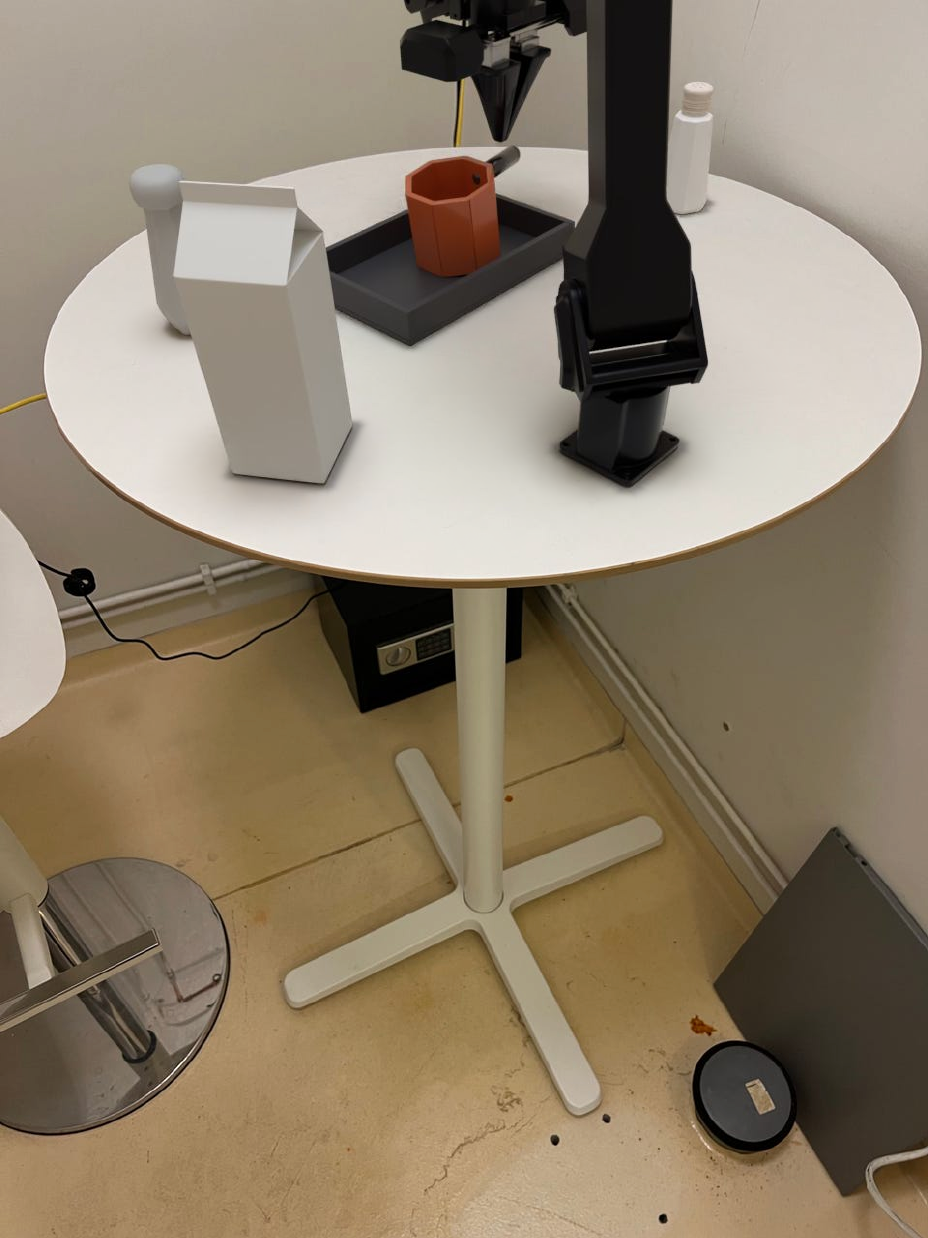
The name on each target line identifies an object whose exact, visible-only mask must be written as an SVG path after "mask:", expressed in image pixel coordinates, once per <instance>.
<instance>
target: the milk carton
mask: <svg viewBox="0 0 928 1238" xmlns="http://www.w3.org/2000/svg"><path fill="white" fill-rule="evenodd" d="M179 187H180V191H181V194H182V198H183V202H182V203H183V206H182V213H181V221H180V228H179V236H178V243H177V251H176V258H175V266H174V274H173V277H174V279H175V282H176V286H177V289H178V292H179V296H180V299H181V302H182V306H183V309H184V313H185V316H186V319H187V323H188V326H189V329H190V333H191V335H190V336H191V340H192V342H193V346H194V349H195V352H196V355H197V359H198V362H199V366H200V370H201V373H202V377H203V379H204V380H203V381H204V383H205V386H206V391H207V393H208V396H209V399H210V403H211V407H212V411H213V413H214V417H215V419H216V420H215V421H216V424H217V426H218V429H219V433H220V436H221V440H222V443H223V447H224V450H225V454H226V457H227V461H228V463H229V467H230V470H231V472H232V473H233V474H236V475H242V476H243V475H244V476H252V477H261V478H270V479H278V480H288V481H296V482H305V483H314V484H325V482H326V481H327V479H328V476H329V475H330V472H331V471H332V468H333V466H334V464H335V462H336V460H337V458H338V456H339V453H340V451H341V450H342V447H343V446H344V443H345V442H346V440H347V436H349V433H350V431H351V429H352V428H353V427H352V426H353V419H352V411H351V405H350V404H351V403H350V398H349V393H348V386H347V377H346V373H345V367H344V360H343V353H342V346H341V339H340V333H339V326H338V320H337V313H336V308H335V306H334V300H333V293H332V287H331V280H330V274H329V267H328V261H327V254H326V242H325V237H324V230H323V229H322V228H321V227H320V226H319V225H318V224H317V223H316V222H315V221H313V220H312V219H311V217H309V216H308V215H307V214H306V213H305V212H304V211H303V210H302V209H301V208H300V207H299V206H298V202H297V201H298V200H297V195H296V189H295V187H293V186H280V185H265V184H264V185H263V184H244V183H230V182H229V183H228V182H227V183H226V182H212V181H211V182H210V181H192V180H190V181H189V180H185V181H179Z"/></svg>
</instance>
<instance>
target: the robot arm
mask: <svg viewBox="0 0 928 1238" xmlns="http://www.w3.org/2000/svg"><path fill="white" fill-rule="evenodd" d="M403 2H404V6H405V9H406V11H407V12H408V13H409V14H411V15H412V14H416V13H420V17H421V22H422V23H421V24H418V25H415V26H412V27H409V28H406V30H405V31H404V33H403V35H402V36H401V38H400V39H399V50H400V52H399V53H400V65H401V70H402V71H405V72H409V73H412V74H416V75H420V76H423V77H426V78H430V79H434V80H437V81H440V82H444V83H456V82H459V81H462V80H464V79H468V78H470V79H471V80H472V83H473V85H474V87H475V89H476V92H477V94H478V98H479V100H480V103H481V107H482V109H483V112H484V116H485V119H486V123H487V126H488V128H489V131H490V134H491V137H492V140H493V141H494V142H496V143H500V144H501V143H502V144H503V143H504V142H506V141H508V139H509V137H510V134H511V132H512V131H513V128H514V125H515V123H516V121H517V120H518V117H519V115H520V112H521V110H522V107H523V105H524V103H525V101H526V99H527V97H528V95H529V92H530V90H531V88H532V86H533V84H534V82H535V81H536V79H537V76H538V74H539V72H540V70H541V68H542V66H543V64H544V62H545V61H546V59H547V58H550V57H551V55H552V48H550V47H547V46H543V45H540V36H539V35H538V31H539V30H543V29H545V28H548V27H550V26H553V25H557V24H559V25H563V28H564V30H565V31H566V32H567V34H568V36H570V37H577V36H580V35H582V34H585V33H586V88H587V91H586V92H587V93H586V95H587V99H586V100H587V102H586V103H587V173H588V174H587V177H588V179H587V180H588V181H587V182H588V183H587V184H588V194H587V195H588V196H587V197H588V199H587V204H586V206H585V208H584V210H583V211H582V214H581V216H580V218H579V219H578V222H577V223H576V225H575V228H569V229H568V230H567V232H566V234H565V237H564V240H563V242H562V251H563V258H562V264H563V280H562V281H561V282H560V284H559V286H558V289H557V295H556V296H555V305H554V306H553V315H554V322H555V323H554V325H555V332H556V339H557V356H558V357H557V358H558V360H559V377H558V384H559V386H560V388H561V389H563V390H566V391H569V392H571V393H575V395H576V397H577V399H578V401H579V414H578V426H577V429H576V430H575V431H573V432H572V433H571V434H569V435H568V436H567V437H565V438H564V439H562V440H561V441H560V442H559V445H558V450H559V451H560V452H561V453H562V454H564V455H566V456H568V457H569V458H572V459H574V460H576V461H577V462H579V463H582V464H583V465H585V466H587V467H589V468H590V469H593V470H594V471H597V472H599V473H601V474H603V475H604V476H607V477H608V478H610V479H612V480H614V481H616V482H618V483H620V484H621V485H624V486H631V485H633V484H634V483H636V482H637V481H638V480H639V479H641V478H642V477H643V476H645V475H646V473H648V472H649V471H651V470H652V469H653V468H654V467H655V466H657V465H658V464H659V463H660V462H662V461H663V460H664V459H665V458H666V457H668V456H669V455H670V454H672V452H674V451H675V450H676V449H677V448H678V447H679V444H680V439H679V437H677V436H675V435H673V434H671V433H669V432H667V431H666V430H663V427H664V425H665V420H666V419H665V418H666V413H667V408H668V403H669V397H670V391H671V387H674V386H681V385H687V384H691V385H695V384H700V383H701V381H702V379H703V376H704V374H705V373H706V371H707V368H708V366H709V358H708V352H707V345H706V338H705V332H704V327H703V320H702V315H701V309H700V301H699V296H698V290H697V283H696V278H695V275H694V272H693V265H692V263H693V262H692V244H691V241H690V239H689V237H688V235H687V234H686V232H685V230H684V228H683V226H682V224H681V223H680V221H679V219H678V217H677V216H676V213H674V212H673V210H672V208H671V206H670V205H669V203H668V201H667V161H668V142H669V127H670V126H669V124H670V98H671V97H670V95H671V94H670V92H671V65H672V63H671V62H672V36H673V35H672V33H673V6H674V5H673V0H403ZM442 16H444V17H445V18H448V17H449V19H450V20H454V21H457V22H461V21H467V26H465V25H460V24H456V23H452V22H449V21H444V20H440V19H437V18H439V17H442ZM433 19H434V20H433ZM490 32H491V33H490Z"/></svg>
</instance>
